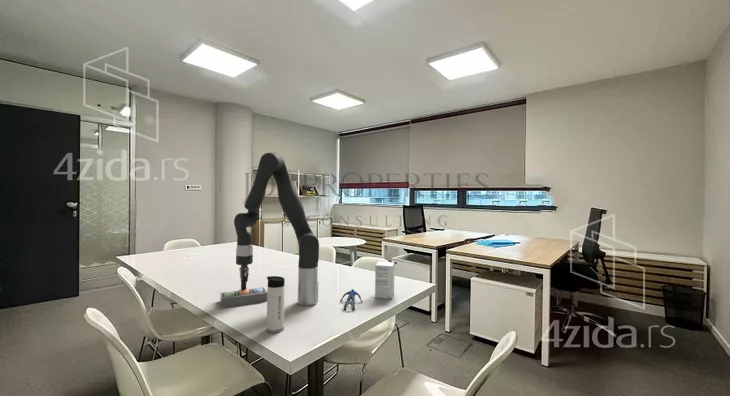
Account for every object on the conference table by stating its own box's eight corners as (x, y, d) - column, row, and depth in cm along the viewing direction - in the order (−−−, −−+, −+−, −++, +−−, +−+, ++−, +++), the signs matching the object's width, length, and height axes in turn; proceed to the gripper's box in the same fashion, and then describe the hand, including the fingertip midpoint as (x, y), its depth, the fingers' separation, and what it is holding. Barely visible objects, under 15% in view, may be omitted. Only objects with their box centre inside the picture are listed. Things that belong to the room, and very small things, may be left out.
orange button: (248, 294, 144) (248, 287, 144) (249, 297, 140) (249, 290, 140) (238, 296, 142) (238, 289, 142) (239, 299, 138) (239, 291, 138)
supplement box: (377, 292, 158) (377, 261, 158) (394, 293, 156) (394, 262, 157) (374, 297, 149) (375, 264, 149) (392, 299, 147) (393, 265, 147)
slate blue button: (261, 294, 147) (262, 287, 147) (263, 297, 143) (263, 290, 143) (252, 295, 145) (252, 288, 145) (253, 298, 141) (253, 291, 141)
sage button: (234, 298, 141) (234, 291, 141) (235, 301, 137) (235, 293, 137) (223, 299, 139) (223, 292, 139) (224, 302, 135) (224, 295, 135)
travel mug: (267, 326, 113) (269, 274, 114) (285, 325, 114) (286, 274, 114) (263, 333, 107) (264, 279, 107) (282, 333, 108) (283, 278, 108)
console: (263, 295, 150) (263, 287, 150) (267, 301, 141) (267, 292, 141) (220, 301, 140) (220, 292, 140) (221, 307, 132) (221, 298, 132)
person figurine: (361, 315, 130) (363, 296, 148) (361, 305, 130) (363, 288, 148) (336, 314, 131) (341, 295, 149) (337, 304, 130) (342, 287, 148)
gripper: (234, 252, 145) (233, 287, 145) (237, 256, 133) (236, 294, 133) (250, 251, 149) (249, 285, 148) (254, 255, 137) (253, 292, 137)
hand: (243, 289), depth 141 cm, fingers closed
